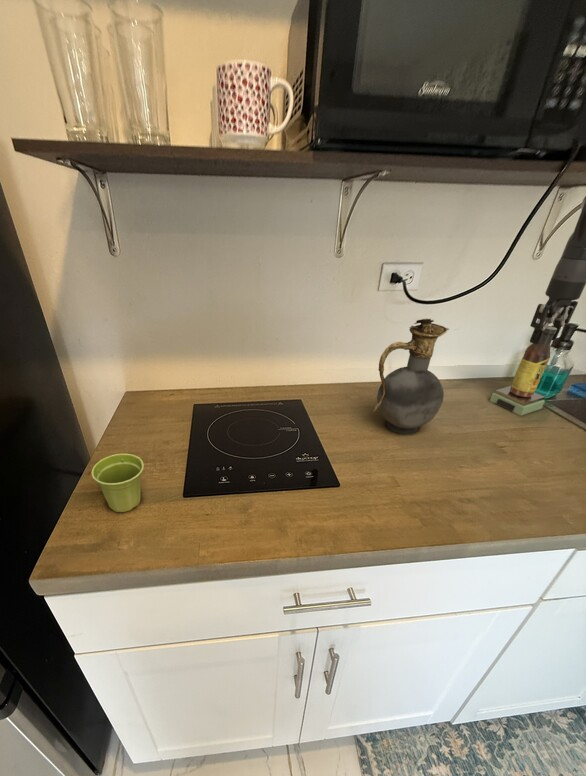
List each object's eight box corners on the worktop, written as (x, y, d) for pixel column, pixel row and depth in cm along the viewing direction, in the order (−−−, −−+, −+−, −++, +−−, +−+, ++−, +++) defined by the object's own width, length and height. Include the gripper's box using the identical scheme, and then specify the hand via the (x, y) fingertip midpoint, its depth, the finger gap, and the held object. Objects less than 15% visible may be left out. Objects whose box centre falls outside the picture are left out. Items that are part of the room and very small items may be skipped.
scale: (510, 395, 123) (513, 387, 122) (541, 409, 116) (545, 400, 114) (488, 402, 119) (491, 393, 118) (519, 416, 112) (523, 407, 110)
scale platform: (514, 387, 121) (515, 384, 121) (543, 400, 114) (544, 397, 114) (494, 392, 118) (496, 389, 117) (523, 406, 111) (525, 403, 110)
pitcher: (439, 433, 103) (475, 321, 87) (376, 445, 98) (403, 327, 81) (413, 414, 111) (442, 308, 95) (355, 423, 106) (374, 313, 90)
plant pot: (151, 485, 82) (146, 451, 78) (146, 516, 75) (140, 481, 70) (105, 488, 81) (97, 454, 76) (96, 521, 73) (86, 485, 69)
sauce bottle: (531, 400, 112) (561, 332, 101) (507, 394, 115) (534, 327, 104) (534, 392, 116) (563, 327, 105) (510, 386, 119) (537, 322, 109)
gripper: (568, 282, 92) (540, 349, 101) (601, 278, 98) (571, 342, 107) (537, 276, 98) (513, 340, 107) (570, 273, 104) (544, 334, 112)
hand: (542, 341), depth 107 cm, fingers open, 7 cm apart
